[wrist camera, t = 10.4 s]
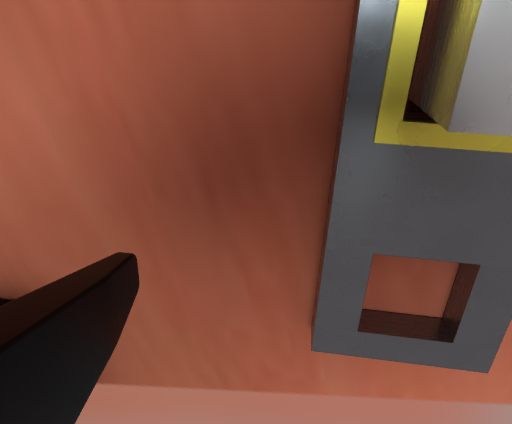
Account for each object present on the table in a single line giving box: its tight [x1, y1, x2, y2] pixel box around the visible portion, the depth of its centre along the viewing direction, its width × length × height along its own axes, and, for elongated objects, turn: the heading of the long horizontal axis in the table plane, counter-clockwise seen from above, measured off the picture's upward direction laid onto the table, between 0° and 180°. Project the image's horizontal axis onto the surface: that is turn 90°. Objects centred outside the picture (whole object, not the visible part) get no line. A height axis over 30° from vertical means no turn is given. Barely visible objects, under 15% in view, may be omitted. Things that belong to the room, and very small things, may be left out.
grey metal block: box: [409, 0, 512, 136], centre depth 15 cm, size 4×4×6 cm
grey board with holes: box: [311, 0, 512, 373], centre depth 19 cm, size 10×21×2 cm, turn 177°
